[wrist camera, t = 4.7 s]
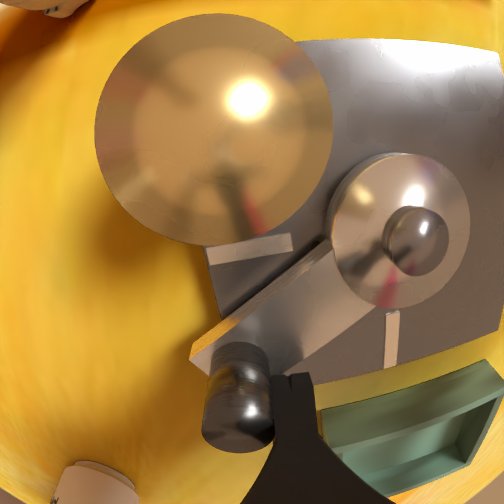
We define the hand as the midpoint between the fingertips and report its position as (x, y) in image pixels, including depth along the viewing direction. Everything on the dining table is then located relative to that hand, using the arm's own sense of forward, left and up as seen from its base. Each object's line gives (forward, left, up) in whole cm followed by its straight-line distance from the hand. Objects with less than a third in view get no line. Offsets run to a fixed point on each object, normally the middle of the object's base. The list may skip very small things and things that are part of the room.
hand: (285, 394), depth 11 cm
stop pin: (0, -9, -2) cm, 9 cm away
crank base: (-5, -5, -3) cm, 7 cm away
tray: (-7, +9, -3) cm, 11 cm away
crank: (-2, -3, -2) cm, 4 cm away
